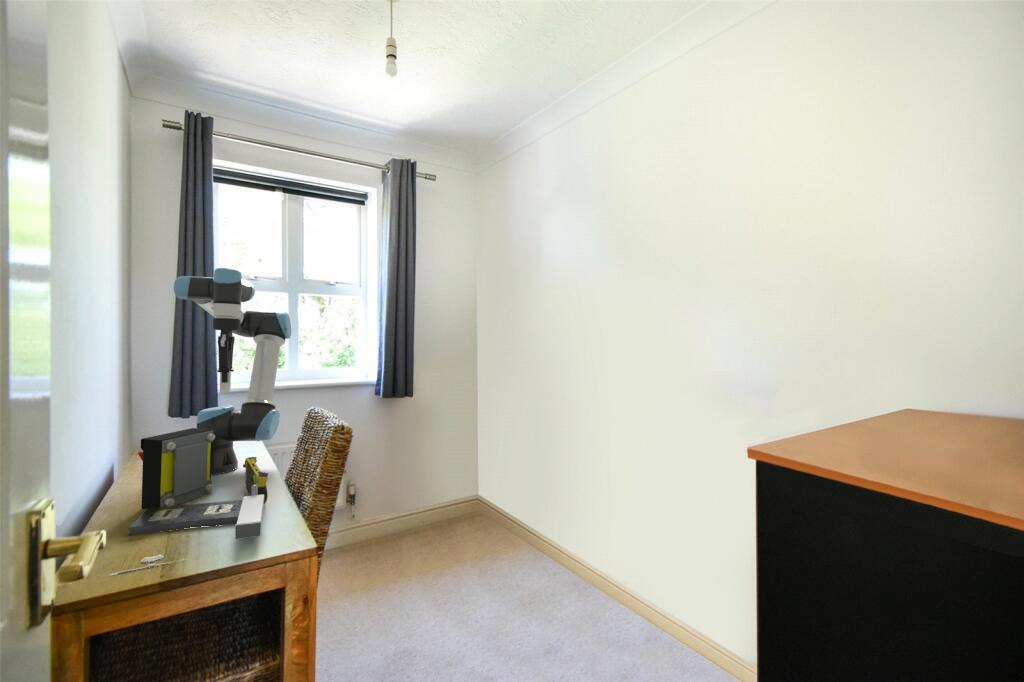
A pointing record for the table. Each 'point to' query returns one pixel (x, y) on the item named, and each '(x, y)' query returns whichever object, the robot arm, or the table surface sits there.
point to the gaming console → (255, 477)
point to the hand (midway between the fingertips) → (225, 392)
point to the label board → (188, 516)
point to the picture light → (144, 561)
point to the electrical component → (176, 467)
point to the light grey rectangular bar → (250, 517)
